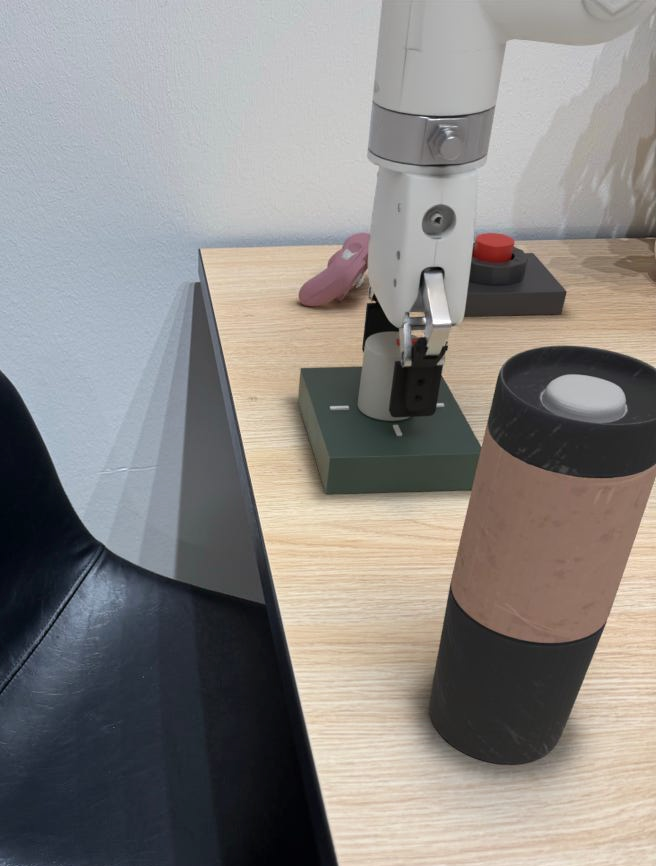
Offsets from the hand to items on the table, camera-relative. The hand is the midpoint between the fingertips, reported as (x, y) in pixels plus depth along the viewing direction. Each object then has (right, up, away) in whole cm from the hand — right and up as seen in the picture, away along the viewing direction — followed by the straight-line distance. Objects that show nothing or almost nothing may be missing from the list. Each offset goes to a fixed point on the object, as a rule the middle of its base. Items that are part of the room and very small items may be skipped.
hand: (396, 382), depth 77 cm
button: (+14, +18, +23) cm, 32 cm away
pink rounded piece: (0, +15, +25) cm, 29 cm away
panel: (0, -4, +3) cm, 5 cm away
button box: (+14, +15, +25) cm, 32 cm away
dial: (0, -1, +1) cm, 2 cm away
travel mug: (+1, -23, -20) cm, 31 cm away
